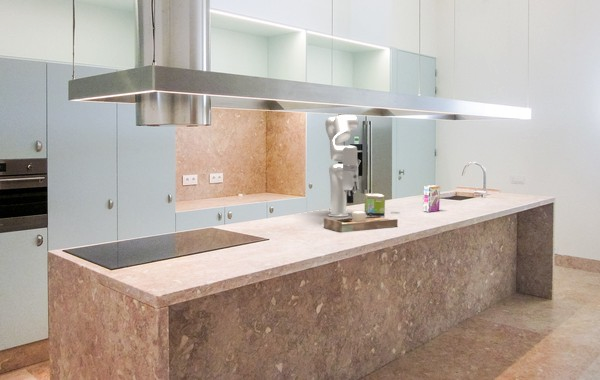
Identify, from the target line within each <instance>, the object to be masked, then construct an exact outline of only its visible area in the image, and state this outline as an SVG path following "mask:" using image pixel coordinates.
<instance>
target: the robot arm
mask: <svg viewBox="0 0 600 380" xmlns="http://www.w3.org/2000/svg"><path fill="white" fill-rule="evenodd" d="M324 124H325V131H326V134H327V137H328V140H329V149H330V150H329V151H330V152H329V154H330V159H331V161H332V162H336V163H332V164H330V165H329V168H328V173H329V180H330V182H329V183H330V208H329V211H330V212H329V213H327V215H328V217H334V218H335V217H336V218H344V217H349V216H350V213H348V212H347V204H353V203H354V195H355V193H357V191H359V189H360V179H359V164H358V163H359V162H358V161H359V160H358V147H357V146H355V145H345V142H347V141H348V140H349V139H350V138H351V135H352V134H351V131H356V130H357V129H358V128H359V119H358V117H357V116H356V115H354V114H339V115H336V116H330V117H327V118H326V119H325V123H324ZM337 162H338V163H337Z"/></svg>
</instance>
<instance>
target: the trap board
mask: <svg viewBox="0 0 600 380" xmlns="http://www.w3.org/2000/svg"><path fill="white" fill-rule="evenodd" d="M323 228H324V229H328V230H331V231H334V232H338V233H345V232H346V233H347V232H358V231H369V230H376V229H378V228H379V229H387V228H389V229H390V228H398V219H395V218H394V219H389V218H386V217H385V218H381V216H371V217H366V221H361V222H357V221H352V217H351V218H350V217H349V218H337V219H335V218H334V219H333V218H332V219H331V218H327V217H324V218H323Z"/></svg>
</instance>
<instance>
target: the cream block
mask: <svg viewBox="0 0 600 380" xmlns="http://www.w3.org/2000/svg"><path fill="white" fill-rule="evenodd" d="M351 215H352V216H351V218H352V221H357V222H361V221H366V212H365V211H352V212H351Z"/></svg>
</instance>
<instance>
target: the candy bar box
mask: <svg viewBox="0 0 600 380" xmlns="http://www.w3.org/2000/svg"><path fill="white" fill-rule="evenodd" d="M440 190H441V186H440V185H424V186H423V199H422V201H423V203H422V207H423V208H422V212H424V213H434V212H439V211H440V201H441V199H440V196H441V191H440Z"/></svg>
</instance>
